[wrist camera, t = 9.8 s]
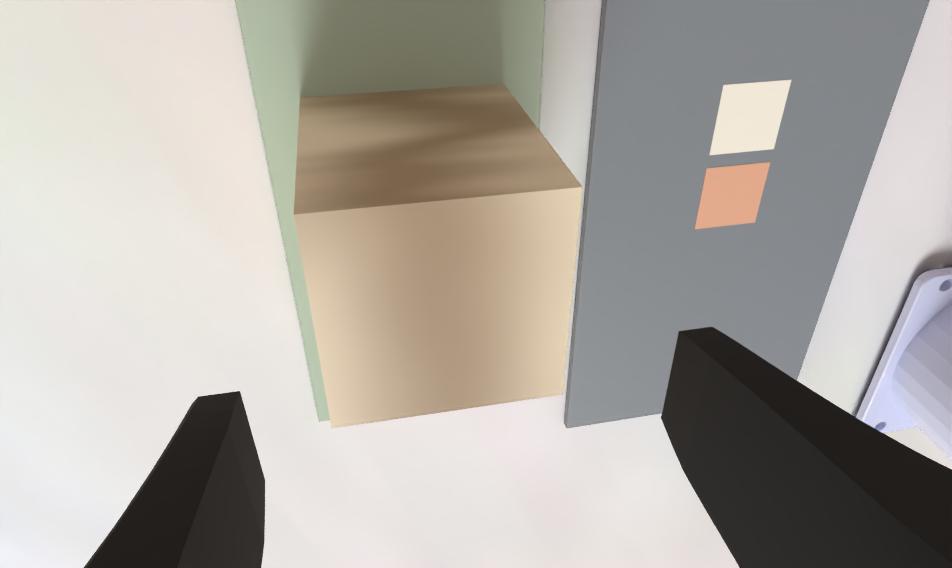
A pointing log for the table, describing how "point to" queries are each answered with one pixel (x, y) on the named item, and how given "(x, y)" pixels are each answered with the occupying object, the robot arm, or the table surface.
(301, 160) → the maple block
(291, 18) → the mat
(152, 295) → the table surface
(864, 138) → the grey plate
